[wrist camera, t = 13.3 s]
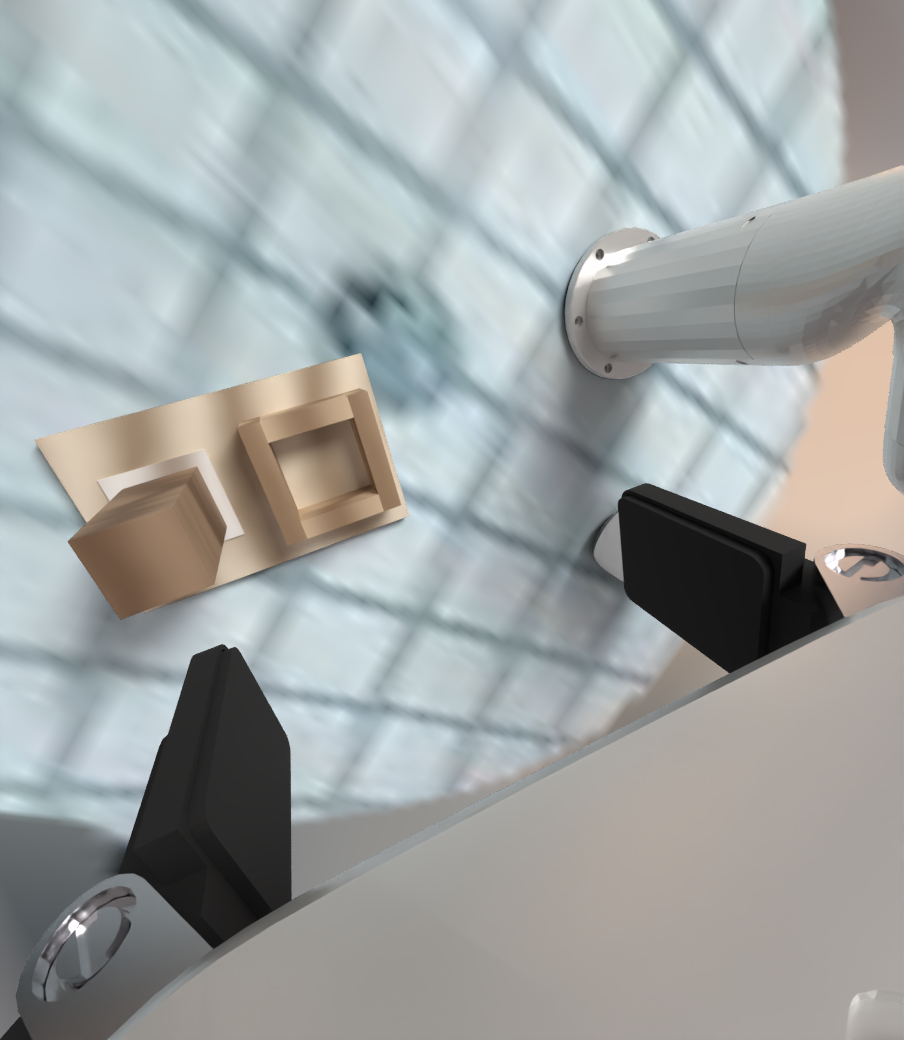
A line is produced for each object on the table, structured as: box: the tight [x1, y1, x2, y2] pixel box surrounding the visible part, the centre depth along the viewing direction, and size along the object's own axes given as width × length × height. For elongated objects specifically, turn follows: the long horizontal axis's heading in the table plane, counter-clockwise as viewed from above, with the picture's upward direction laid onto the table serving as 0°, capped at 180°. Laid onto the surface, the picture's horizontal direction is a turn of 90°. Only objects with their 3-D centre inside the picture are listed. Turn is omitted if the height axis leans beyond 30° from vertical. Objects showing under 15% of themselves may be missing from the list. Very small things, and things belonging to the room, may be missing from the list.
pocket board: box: [34, 354, 409, 613], centre depth 34 cm, size 22×14×4 cm, turn 104°
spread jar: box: [593, 511, 624, 582], centre depth 47 cm, size 12×11×12 cm
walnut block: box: [68, 466, 227, 620], centre depth 29 cm, size 5×5×10 cm
